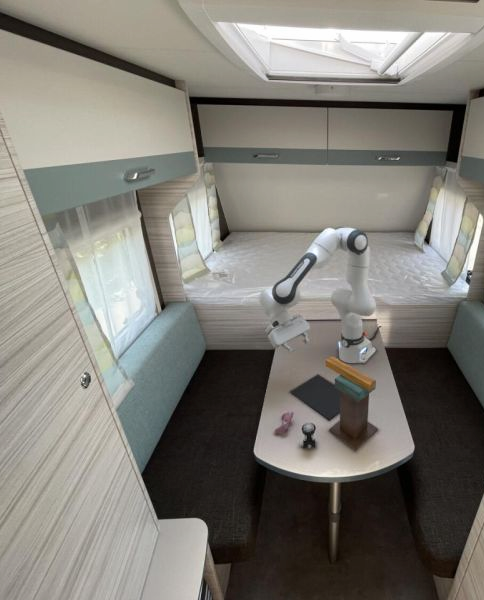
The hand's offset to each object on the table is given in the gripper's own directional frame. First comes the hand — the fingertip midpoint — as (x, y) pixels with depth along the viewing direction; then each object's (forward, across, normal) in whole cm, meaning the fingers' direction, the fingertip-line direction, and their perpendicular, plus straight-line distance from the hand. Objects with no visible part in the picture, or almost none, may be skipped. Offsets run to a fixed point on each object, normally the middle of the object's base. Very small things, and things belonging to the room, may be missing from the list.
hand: (299, 346), depth 144 cm
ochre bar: (+22, +1, +20) cm, 30 cm away
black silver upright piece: (+35, +20, -4) cm, 40 cm away
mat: (+24, -5, -14) cm, 28 cm away
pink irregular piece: (+24, +19, -13) cm, 34 cm away
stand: (+42, +2, +2) cm, 42 cm away
